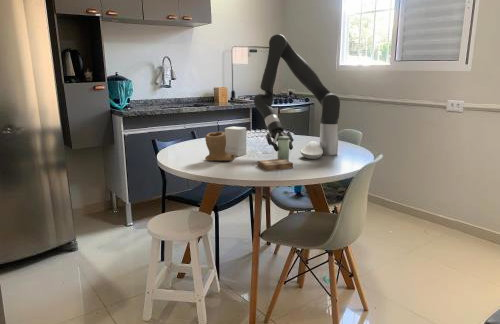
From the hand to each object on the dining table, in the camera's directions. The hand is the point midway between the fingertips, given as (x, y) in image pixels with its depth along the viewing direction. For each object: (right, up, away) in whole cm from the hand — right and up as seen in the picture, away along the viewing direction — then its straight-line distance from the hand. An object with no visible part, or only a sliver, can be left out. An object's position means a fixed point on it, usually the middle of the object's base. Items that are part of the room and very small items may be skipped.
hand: (284, 149), depth 194 cm
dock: (-6, -9, -11) cm, 15 cm away
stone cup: (-33, -6, +1) cm, 34 cm away
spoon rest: (+16, -3, +14) cm, 22 cm away
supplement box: (-26, -2, +16) cm, 30 cm away
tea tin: (-1, -5, +3) cm, 6 cm away
